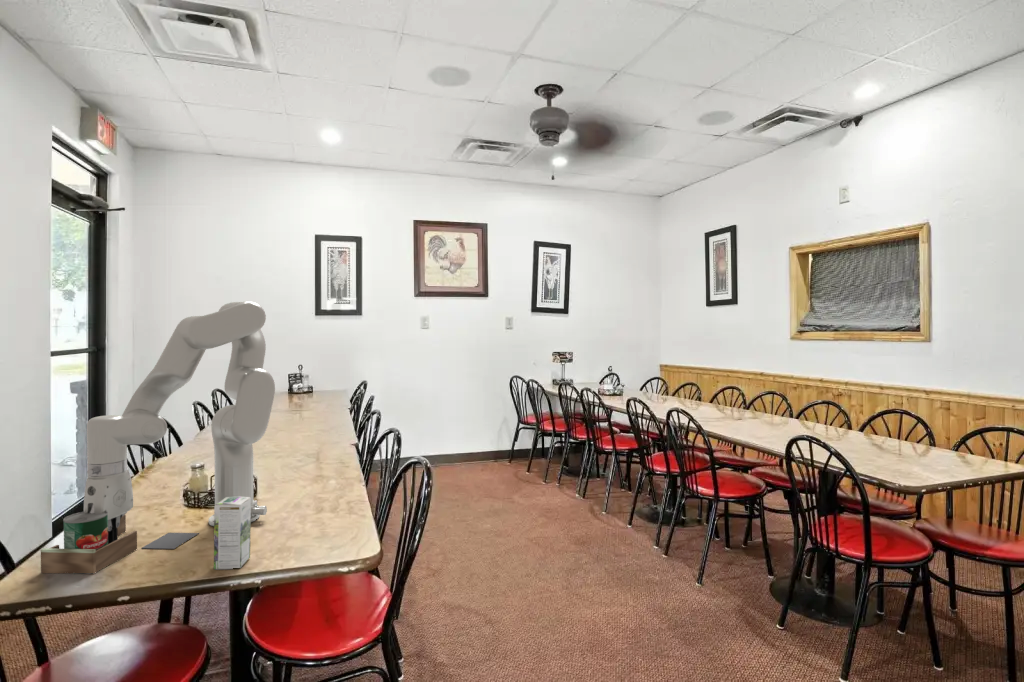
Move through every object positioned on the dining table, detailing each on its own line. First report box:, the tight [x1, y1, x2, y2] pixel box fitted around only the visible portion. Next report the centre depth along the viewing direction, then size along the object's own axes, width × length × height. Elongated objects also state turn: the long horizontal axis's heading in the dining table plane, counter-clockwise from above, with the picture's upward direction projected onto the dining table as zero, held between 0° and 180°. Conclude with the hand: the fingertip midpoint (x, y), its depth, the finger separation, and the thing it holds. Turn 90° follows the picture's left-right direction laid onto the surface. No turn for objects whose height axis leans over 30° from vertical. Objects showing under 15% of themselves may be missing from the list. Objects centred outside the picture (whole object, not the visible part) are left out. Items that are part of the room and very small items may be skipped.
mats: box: [141, 532, 200, 550], centre depth 132 cm, size 24×18×1 cm
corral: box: [40, 514, 138, 574], centre depth 130 cm, size 12×24×5 cm, turn 178°
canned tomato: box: [62, 511, 108, 550], centre depth 123 cm, size 8×8×11 cm
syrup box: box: [213, 496, 252, 570], centre depth 123 cm, size 6×6×14 cm
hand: (108, 545), depth 130 cm, fingers closed
